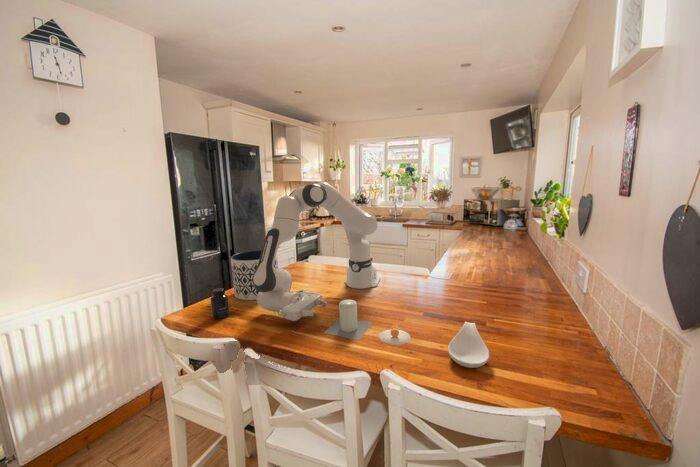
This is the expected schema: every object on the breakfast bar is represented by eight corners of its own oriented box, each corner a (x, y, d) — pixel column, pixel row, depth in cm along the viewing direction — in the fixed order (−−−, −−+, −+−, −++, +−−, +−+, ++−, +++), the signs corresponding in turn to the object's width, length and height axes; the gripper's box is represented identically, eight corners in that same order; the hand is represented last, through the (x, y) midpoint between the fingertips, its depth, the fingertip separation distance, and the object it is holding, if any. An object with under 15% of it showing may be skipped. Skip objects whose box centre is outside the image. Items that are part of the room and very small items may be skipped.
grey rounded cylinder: (345, 322, 119) (344, 298, 118) (359, 325, 117) (358, 300, 115) (337, 329, 114) (336, 304, 112) (352, 332, 111) (352, 307, 110)
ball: (391, 333, 110) (391, 326, 109) (400, 335, 108) (400, 327, 108) (389, 337, 107) (389, 329, 106) (397, 339, 106) (397, 331, 105)
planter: (262, 303, 143) (258, 261, 140) (224, 298, 151) (220, 258, 148) (287, 287, 164) (285, 250, 161) (253, 284, 172) (250, 248, 168)
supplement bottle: (223, 320, 126) (220, 293, 124) (208, 319, 128) (205, 292, 126) (232, 313, 133) (230, 287, 131) (218, 312, 134) (215, 286, 132)
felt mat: (340, 318, 125) (340, 317, 125) (372, 324, 119) (372, 322, 119) (323, 334, 112) (323, 332, 112) (358, 341, 106) (358, 340, 106)
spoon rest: (489, 377, 85) (490, 354, 84) (445, 369, 90) (446, 347, 88) (486, 337, 107) (487, 318, 106) (451, 332, 111) (451, 313, 110)
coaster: (385, 328, 115) (385, 327, 115) (413, 333, 110) (413, 332, 110) (374, 342, 105) (374, 341, 105) (405, 349, 101) (405, 347, 100)
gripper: (274, 305, 116) (304, 311, 110) (304, 288, 134) (332, 292, 128) (275, 321, 117) (305, 327, 111) (305, 302, 135) (332, 306, 129)
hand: (320, 308), depth 119 cm, fingers open, 8 cm apart
